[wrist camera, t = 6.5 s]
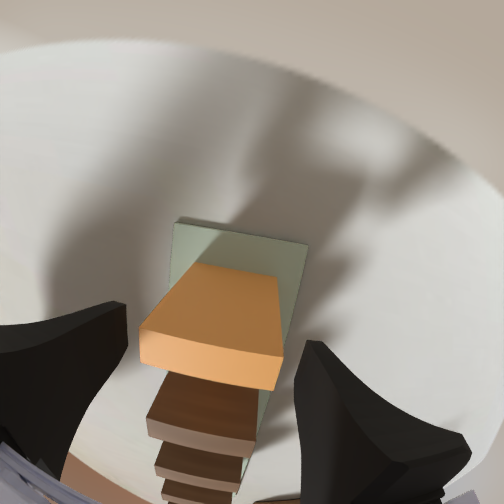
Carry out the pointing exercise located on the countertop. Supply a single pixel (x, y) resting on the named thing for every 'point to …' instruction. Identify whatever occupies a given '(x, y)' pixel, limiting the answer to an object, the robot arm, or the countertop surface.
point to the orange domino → (217, 328)
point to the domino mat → (242, 269)
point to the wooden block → (281, 502)
